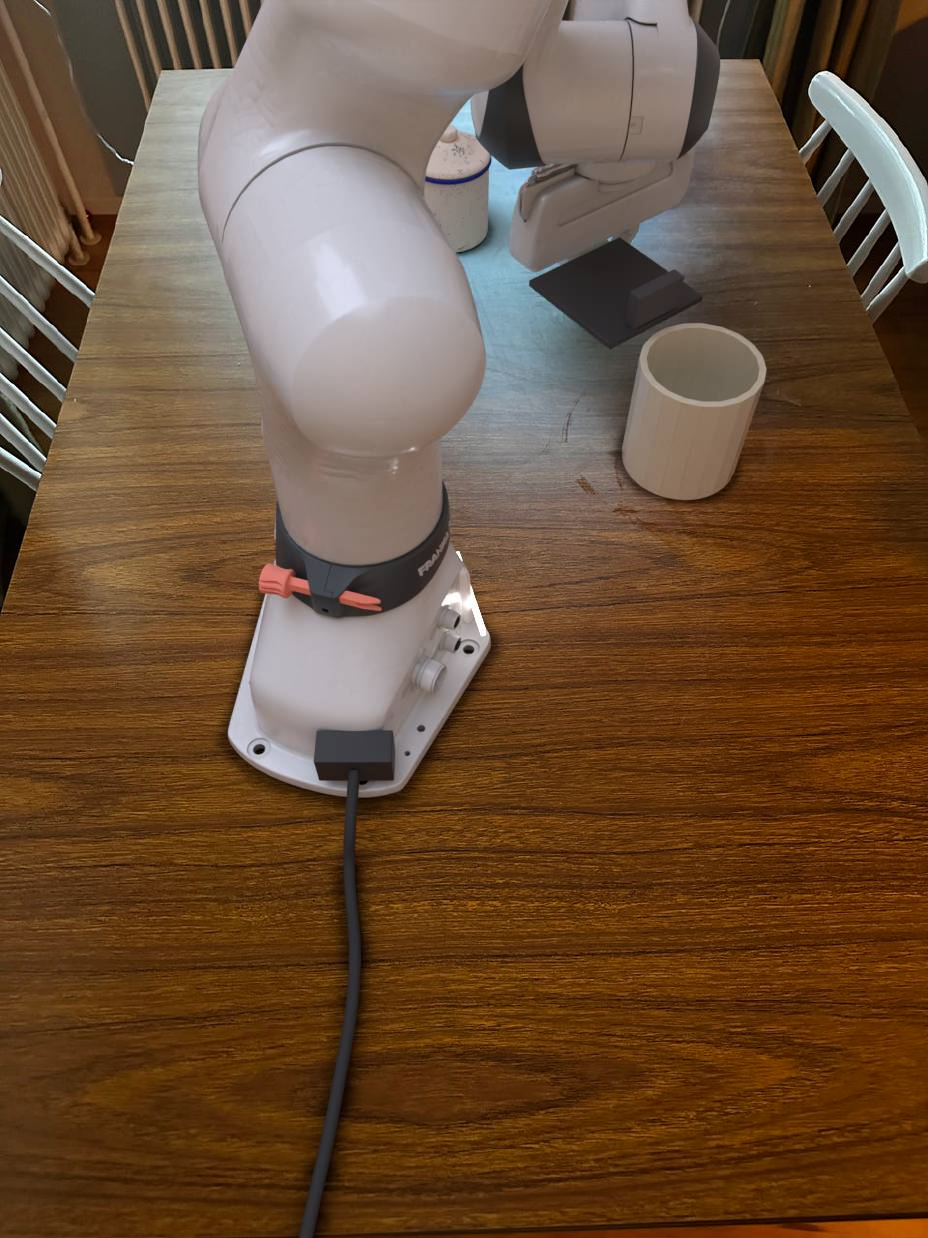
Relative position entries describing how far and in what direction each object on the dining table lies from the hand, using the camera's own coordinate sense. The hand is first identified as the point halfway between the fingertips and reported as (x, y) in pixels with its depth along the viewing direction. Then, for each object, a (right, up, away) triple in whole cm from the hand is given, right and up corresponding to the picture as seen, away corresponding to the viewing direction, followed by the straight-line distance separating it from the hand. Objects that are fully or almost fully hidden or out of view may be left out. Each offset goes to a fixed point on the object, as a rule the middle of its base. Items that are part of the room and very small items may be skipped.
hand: (592, 272), depth 96 cm
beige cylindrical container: (+7, -20, -9) cm, 23 cm away
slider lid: (0, -7, -13) cm, 15 cm away
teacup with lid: (-16, +9, +11) cm, 21 cm away
